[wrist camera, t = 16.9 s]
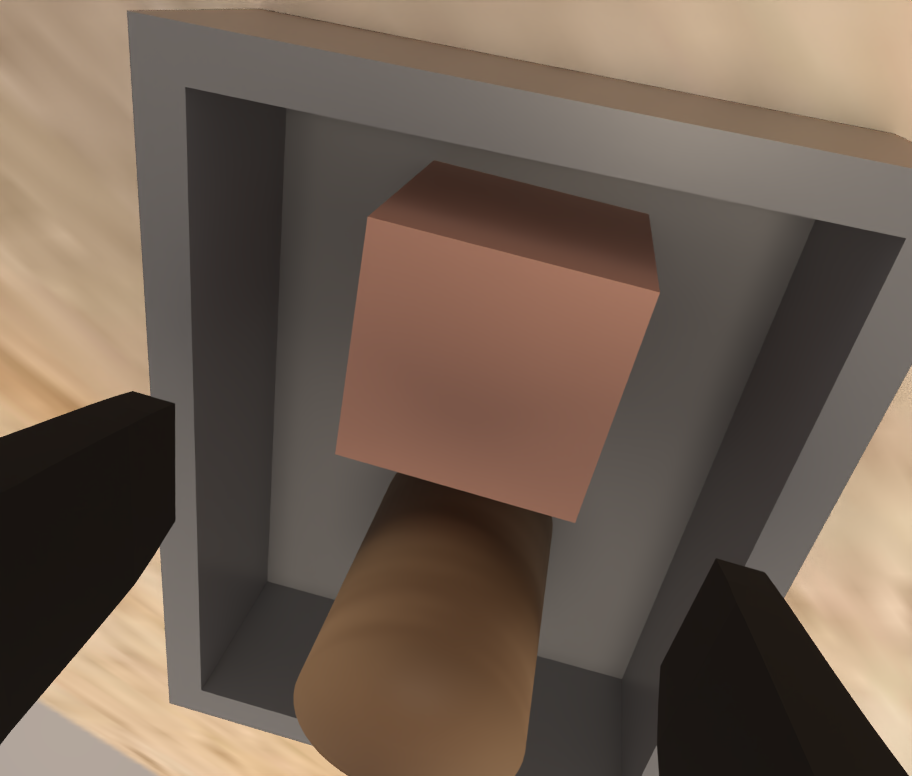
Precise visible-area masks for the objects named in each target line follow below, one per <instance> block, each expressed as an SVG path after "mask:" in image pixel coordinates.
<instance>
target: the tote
mask: <svg viewBox="0 0 912 776" xmlns="http://www.w3.org/2000/svg"><path fill="white" fill-rule="evenodd" d="M127 18H128V34H129V50H130V67H131V83H132V99H133V116H134V132H135V148H136V164H137V181H138V197H139V213H140V230H141V246H142V262H143V279H144V295H145V311H146V327H147V344H148V360H149V376H150V393H151V397H155V398H158V399H162V400H165V401H169V402H172V403H175V508H176V521H175V523H174V524H173V526H172V527H171V529H170V531H169V532H168V534H167V535H166V537H165V539H164V540H163V542H162V543H161V545H160V556H161V572H162V588H163V605H164V621H165V637H166V654H167V670H168V686H169V702H170V703H171V704H174V705H178V706H181V707H185V708H188V709H191V710H195V711H198V712H201V713H205V714H208V715H211V716H215V717H218V718H222V719H225V720H228V721H232V722H235V723H238V724H242V725H245V726H248V727H252V728H255V729H259V730H262V731H265V732H269V733H272V734H275V735H279V736H282V737H285V738H289V739H292V740H296V741H299V742H302V743H306V744H309V745H312V744H311V743H310V741H309V740H308V738H307V737H306V736H305V734H304V732H303V730H302V729H301V727H300V725H299V722H298V719H297V717H296V714H295V709H294V689H295V684H296V682H297V679H298V677H299V675H300V672H301V670H302V668H303V666H304V664H305V662H306V660H307V658H308V656H309V653H310V651H311V649H312V647H313V645H314V643H315V641H316V639H317V637H318V634H319V632H320V630H321V628H322V626H323V624H324V622H325V620H326V618H327V616H328V613H329V611H330V609H331V607H332V605H333V603H334V601H335V599H336V597H337V594H338V592H339V590H340V588H341V586H342V584H343V582H344V580H345V578H346V575H347V573H348V571H349V569H350V567H351V565H352V563H353V561H354V559H355V557H356V554H357V552H358V550H359V548H360V546H361V544H362V542H363V540H364V538H365V535H366V533H367V531H368V529H369V527H370V525H371V523H372V521H373V519H374V517H375V514H376V512H377V510H378V508H379V506H380V504H381V502H382V500H383V498H384V495H385V493H386V491H387V489H388V487H389V485H390V483H391V481H392V479H393V478H394V476H395V475H396V473H397V472H395V471H392V470H388V469H385V468H382V467H378V466H375V465H371V464H368V463H364V462H361V461H357V460H354V459H350V458H347V457H343V456H340V455H336V454H335V451H336V444H337V437H338V429H339V422H340V415H341V407H342V400H343V393H344V386H345V378H346V371H347V364H348V356H349V349H350V342H351V335H352V327H353V320H354V313H355V305H356V298H357V291H358V284H359V276H360V269H361V262H362V254H363V247H364V240H365V233H366V225H367V218H368V216H369V215H370V214H371V213H373V212H374V211H375V210H376V209H377V208H378V207H380V206H381V205H382V204H383V203H384V202H385V201H387V200H388V199H389V198H390V197H391V196H393V195H394V194H395V193H396V192H397V191H398V190H400V189H401V188H402V187H403V186H404V185H405V184H407V183H408V182H409V181H410V180H411V179H412V178H414V177H415V176H416V175H417V174H418V173H420V172H421V171H422V170H423V169H424V168H425V167H427V166H428V165H429V164H430V163H431V162H432V161H434V160H435V161H439V162H443V163H447V164H451V165H455V166H459V167H463V168H467V169H471V170H475V171H479V172H483V173H487V174H491V175H495V176H499V177H503V178H507V179H511V180H515V181H519V182H523V183H527V184H531V185H535V186H539V187H543V188H547V189H551V190H555V191H558V192H562V193H566V194H570V195H574V196H578V197H582V198H586V199H590V200H594V201H598V202H602V203H606V204H610V205H614V206H618V207H622V208H626V209H630V210H634V211H638V212H642V213H646V214H649V219H650V226H651V233H652V240H653V247H654V254H655V261H656V268H657V275H658V282H659V289H660V294H659V297H658V299H657V302H656V305H655V307H654V310H653V313H652V316H651V318H650V321H649V324H648V326H647V329H646V332H645V335H644V337H643V340H642V343H641V345H640V348H639V351H638V354H637V356H636V359H635V362H634V364H633V367H632V370H631V372H630V375H629V378H628V381H627V383H626V386H625V389H624V391H623V394H622V397H621V400H620V402H619V405H618V408H617V410H616V413H615V416H614V419H613V421H612V424H611V427H610V429H609V432H608V435H607V438H606V440H605V443H604V446H603V448H602V451H601V454H600V457H599V459H598V462H597V465H596V467H595V470H594V473H593V476H592V478H591V481H590V484H589V486H588V489H587V492H586V495H585V497H584V500H583V503H582V505H581V508H580V511H579V514H578V516H577V519H576V522H575V523H573V522H570V521H566V520H563V519H559V518H556V517H552V522H553V528H552V539H551V547H550V555H549V563H548V571H547V579H546V588H545V596H544V604H543V612H542V620H541V628H540V636H539V644H538V652H537V660H536V668H535V676H534V684H533V692H532V700H531V708H530V716H529V724H528V732H527V741H526V749H525V754H524V758H523V762H522V764H521V766H520V768H519V770H518V772H517V773H516V775H515V776H659V768H658V754H657V724H658V698H659V679H660V665H661V664H662V662H663V660H664V658H665V656H666V654H667V652H668V650H669V648H670V646H671V644H672V642H673V640H674V638H675V636H676V634H677V633H678V631H679V629H680V627H681V625H682V623H683V621H684V619H685V617H686V615H687V613H688V611H689V609H690V607H691V605H692V603H693V601H694V600H695V598H696V596H697V594H698V592H699V590H700V588H701V586H702V584H703V582H704V580H705V578H706V576H707V574H708V572H709V570H710V569H711V567H712V565H713V563H714V561H715V559H716V558H717V559H721V560H724V561H728V562H731V563H735V564H738V565H742V566H745V567H749V568H752V569H756V570H759V571H763V572H765V573H766V574H767V576H768V577H769V578H770V580H771V581H772V582H773V584H774V585H775V587H776V588H777V589H778V591H779V592H780V594H781V595H782V597H783V598H784V597H785V596H786V594H787V592H788V590H789V588H790V586H791V585H792V583H793V581H794V579H795V577H796V575H797V574H798V572H799V570H800V568H801V566H802V564H803V563H804V561H805V559H806V557H807V555H808V553H809V552H810V550H811V548H812V546H813V544H814V542H815V541H816V539H817V537H818V535H819V533H820V532H821V530H822V528H823V526H824V524H825V522H826V521H827V519H828V517H829V515H830V513H831V511H832V510H833V508H834V506H835V504H836V502H837V500H838V499H839V497H840V495H841V493H842V491H843V489H844V488H845V486H846V484H847V482H848V480H849V478H850V477H851V475H852V473H853V471H854V469H855V467H856V466H857V464H858V462H859V460H860V458H861V456H862V455H863V453H864V451H865V449H866V447H867V446H868V444H869V442H870V440H871V438H872V436H873V435H874V433H875V431H876V429H877V427H878V425H879V424H880V422H881V420H882V418H883V416H884V414H885V413H886V411H887V409H888V407H889V405H890V403H891V402H892V400H893V398H894V396H895V394H896V392H897V391H898V389H899V387H900V385H901V383H902V381H903V380H904V378H905V376H906V374H907V372H908V371H909V369H910V367H911V365H912V142H911V141H909V140H907V139H904V138H902V137H900V136H898V135H896V134H892V133H887V132H882V131H877V130H872V129H867V128H862V127H857V126H852V125H847V124H842V123H837V122H832V121H827V120H821V119H816V118H811V117H806V116H801V115H796V114H791V113H786V112H781V111H776V110H771V109H766V108H761V107H755V106H750V105H745V104H740V103H735V102H730V101H725V100H720V99H715V98H710V97H705V96H700V95H695V94H690V93H684V92H679V91H674V90H669V89H664V88H659V87H654V86H649V85H644V84H639V83H634V82H629V81H624V80H618V79H613V78H608V77H603V76H598V75H593V74H588V73H583V72H578V71H573V70H568V69H563V68H558V67H553V66H547V65H542V64H537V63H532V62H527V61H522V60H517V59H512V58H507V57H502V56H497V55H492V54H487V53H481V52H476V51H471V50H466V49H461V48H456V47H451V46H446V45H441V44H436V43H431V42H426V41H421V40H416V39H410V38H405V37H400V36H395V35H390V34H385V33H380V32H375V31H370V30H365V29H360V28H355V27H350V26H344V25H339V24H334V23H329V22H324V21H319V20H314V19H309V18H304V17H299V16H294V15H289V14H284V13H279V12H273V11H268V10H263V9H201V10H137V11H127ZM312 746H313V745H312Z"/></svg>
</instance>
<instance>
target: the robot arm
mask: <svg viewBox="0 0 912 776" xmlns="http://www.w3.org/2000/svg"><path fill="white" fill-rule="evenodd" d="M175 521H176V508H175V403H172V402H169V401H165V400H162V399H158V398H155V397H151V396H148V395H144V394H141V393H137V392H134V391H132V392H128V393H125V394H121V395H118V396H115V397H112V398H109V399H106V400H103V401H100V402H97V403H94V404H91V405H88V406H86V407H83V408H80V409H77V410H74V411H72V412H69V413H66V414H63V415H61V416H58V417H55V418H53V419H50V420H47V421H44V422H42V423H39V424H36V425H34V426H31V427H28V428H25V429H23V430H20V431H17V432H14V433H12V434H9V435H6V436H3V437H0V744H1V743H2V742H3V740H4V739H5V738H6V737H7V735H8V734H9V733H10V732H11V730H12V729H13V728H14V727H15V725H16V724H17V723H18V722H19V721H20V720H21V719H22V717H23V716H24V715H25V714H26V713H27V711H28V710H29V709H30V708H31V707H32V706H33V704H34V703H35V702H36V701H37V700H38V699H39V697H40V696H41V695H42V694H43V693H44V691H45V690H46V689H47V688H48V687H49V686H50V684H51V683H52V682H53V681H54V680H55V679H56V677H57V676H58V675H59V674H60V673H61V671H62V670H63V669H64V668H65V667H66V666H67V664H68V663H69V662H70V661H71V660H72V659H73V657H74V656H75V655H76V654H77V653H78V651H79V650H80V649H81V648H82V647H83V646H84V644H85V643H86V642H87V641H88V640H89V639H90V637H91V636H92V635H93V634H94V633H95V631H96V630H97V629H98V628H99V627H100V625H101V624H102V623H103V622H104V621H105V620H106V618H107V617H108V616H109V615H110V614H111V612H112V611H113V610H114V609H115V608H116V606H117V605H118V604H119V603H120V602H121V600H122V599H123V598H124V597H125V595H126V594H127V593H128V592H129V591H130V589H131V588H132V587H133V586H134V584H135V583H136V582H137V580H138V579H139V577H140V576H141V574H142V573H143V571H144V570H145V568H146V567H147V565H148V564H149V562H150V561H151V559H152V558H153V556H154V555H155V553H156V551H157V550H158V548H159V547H160V545H161V543H162V542H163V540H164V539H165V537H166V535H167V534H168V532H169V531H170V529H171V527H172V526H173V524H174V523H175ZM657 754H658V768H659V776H909V775H908V774H907V773H906V771H905V770H904V769H903V767H902V766H901V765H900V763H899V762H898V761H897V759H896V758H895V757H894V755H893V754H892V753H891V751H890V750H889V748H888V747H887V746H886V744H885V743H884V742H883V740H882V739H881V738H880V736H879V735H878V733H877V732H876V731H875V729H874V728H873V727H872V725H871V724H870V722H869V721H868V720H867V718H866V717H865V715H864V714H863V713H862V711H861V710H860V708H859V707H858V706H857V704H856V703H855V701H854V700H853V698H852V697H851V696H850V694H849V693H848V691H847V690H846V688H845V687H844V686H843V684H842V683H841V681H840V680H839V678H838V677H837V676H836V674H835V673H834V671H833V670H832V668H831V667H830V665H829V664H828V662H827V661H826V660H825V658H824V657H823V655H822V654H821V652H820V651H819V649H818V648H817V646H816V645H815V643H814V642H813V640H812V639H811V638H810V636H809V635H808V633H807V632H806V630H805V629H804V627H803V626H802V624H801V623H800V621H799V620H798V618H797V617H796V615H795V614H794V613H793V611H792V610H791V608H790V607H789V605H788V604H787V602H786V601H785V599H784V598H783V597H782V595H781V594H780V592H779V591H778V589H777V588H776V587H775V585H774V584H773V582H772V581H771V580H770V578H769V577H768V576H767V574H766V573H765V572H763V571H759V570H756V569H752V568H749V567H745V566H742V565H738V564H735V563H731V562H728V561H724V560H721V559H717V558H716V559H715V561H714V563H713V565H712V567H711V569H710V570H709V572H708V574H707V576H706V578H705V580H704V582H703V584H702V586H701V588H700V590H699V592H698V594H697V596H696V598H695V600H694V601H693V603H692V605H691V607H690V609H689V611H688V613H687V615H686V617H685V619H684V621H683V623H682V625H681V627H680V629H679V631H678V633H677V634H676V636H675V638H674V640H673V642H672V644H671V646H670V648H669V650H668V652H667V654H666V656H665V658H664V660H663V662H662V664H661V665H660V679H659V698H658V724H657Z"/></svg>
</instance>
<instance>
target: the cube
mask: <svg viewBox="0 0 912 776" xmlns="http://www.w3.org/2000/svg"><path fill="white" fill-rule="evenodd" d="M659 294H660V289H659V282H658V275H657V268H656V261H655V254H654V247H653V240H652V233H651V226H650V219H649V214H646V213H642V212H638V211H634V210H630V209H626V208H622V207H618V206H614V205H610V204H606V203H602V202H598V201H594V200H590V199H586V198H582V197H578V196H574V195H570V194H566V193H562V192H558V191H555V190H551V189H547V188H543V187H539V186H535V185H531V184H527V183H523V182H519V181H515V180H511V179H507V178H503V177H499V176H495V175H491V174H487V173H483V172H479V171H475V170H471V169H467V168H463V167H459V166H455V165H451V164H447V163H443V162H439V161H435V160H434V161H432V162H431V163H430V164H429V165H428V166H427V167H425V168H424V169H423V170H422V171H421V172H420V173H418V174H417V175H416V176H415V177H414V178H412V179H411V180H410V181H409V182H408V183H407V184H405V185H404V186H403V187H402V188H401V189H400V190H398V191H397V192H396V193H395V194H394V195H393V196H391V197H390V198H389V199H388V200H387V201H385V202H384V203H383V204H382V205H381V206H380V207H378V208H377V209H376V210H375V211H374V212H373V213H371V214H370V215H369V216H368V218H367V225H366V233H365V240H364V247H363V254H362V262H361V269H360V276H359V284H358V291H357V298H356V305H355V313H354V320H353V327H352V335H351V342H350V349H349V356H348V364H347V371H346V378H345V386H344V393H343V400H342V407H341V415H340V422H339V429H338V437H337V444H336V451H335V454H336V455H340V456H343V457H347V458H350V459H354V460H357V461H361V462H364V463H368V464H371V465H375V466H378V467H382V468H385V469H388V470H392V471H395V472H399V473H402V474H406V475H409V476H413V477H416V478H420V479H423V480H427V481H430V482H434V483H437V484H441V485H444V486H448V487H451V488H455V489H458V490H462V491H465V492H469V493H472V494H476V495H479V496H483V497H486V498H490V499H493V500H496V501H500V502H503V503H507V504H510V505H514V506H517V507H521V508H524V509H528V510H531V511H535V512H538V513H542V514H545V515H549V516H552V517H556V518H559V519H563V520H566V521H570V522H573V523H575V522H576V519H577V516H578V514H579V511H580V508H581V505H582V503H583V500H584V497H585V495H586V492H587V489H588V486H589V484H590V481H591V478H592V476H593V473H594V470H595V467H596V465H597V462H598V459H599V457H600V454H601V451H602V448H603V446H604V443H605V440H606V438H607V435H608V432H609V429H610V427H611V424H612V421H613V419H614V416H615V413H616V410H617V408H618V405H619V402H620V400H621V397H622V394H623V391H624V389H625V386H626V383H627V381H628V378H629V375H630V372H631V370H632V367H633V364H634V362H635V359H636V356H637V354H638V351H639V348H640V345H641V343H642V340H643V337H644V335H645V332H646V329H647V326H648V324H649V321H650V318H651V316H652V313H653V310H654V307H655V305H656V302H657V299H658V297H659Z"/></svg>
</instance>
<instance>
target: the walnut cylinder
mask: <svg viewBox="0 0 912 776" xmlns="http://www.w3.org/2000/svg"><path fill="white" fill-rule="evenodd" d="M552 528H553V522H552V516H549V515H545V514H542V513H538V512H535V511H531V510H528V509H524V508H521V507H517V506H514V505H510V504H507V503H503V502H500V501H496V500H493V499H490V498H486V497H483V496H479V495H476V494H472V493H469V492H465V491H462V490H458V489H455V488H451V487H448V486H444V485H441V484H437V483H434V482H430V481H427V480H423V479H420V478H416V477H413V476H409V475H406V474H402V473H399V472H397V473H396V475H395V476H394V478H393V479H392V481H391V483H390V485H389V487H388V489H387V491H386V493H385V495H384V498H383V500H382V502H381V504H380V506H379V508H378V510H377V512H376V514H375V517H374V519H373V521H372V523H371V525H370V527H369V529H368V531H367V533H366V535H365V538H364V540H363V542H362V544H361V546H360V548H359V550H358V552H357V554H356V557H355V559H354V561H353V563H352V565H351V567H350V569H349V571H348V573H347V575H346V578H345V580H344V582H343V584H342V586H341V588H340V590H339V592H338V594H337V597H336V599H335V601H334V603H333V605H332V607H331V609H330V611H329V613H328V616H327V618H326V620H325V622H324V624H323V626H322V628H321V630H320V632H319V634H318V637H317V639H316V641H315V643H314V645H313V647H312V649H311V651H310V653H309V656H308V658H307V660H306V662H305V664H304V666H303V668H302V670H301V672H300V675H299V677H298V679H297V682H296V684H295V689H294V709H295V714H296V717H297V719H298V722H299V725H300V727H301V729H302V730H303V732H304V734H305V736H306V737H307V738H308V740H309V741H310V743H311V744H312V745H313V746H314V747H315V749H316V750H317V751H318V752H319V753H320V754H321V755H322V756H323V757H324V758H325V759H326V760H327V761H329V762H330V763H331V764H332V765H334V766H335V767H336V768H337V769H339V770H340V771H342V772H343V773H345V774H346V775H348V776H515V775H516V773H517V772H518V770H519V768H520V766H521V764H522V762H523V758H524V754H525V749H526V741H527V732H528V724H529V716H530V708H531V700H532V692H533V684H534V676H535V668H536V660H537V652H538V644H539V636H540V628H541V620H542V612H543V604H544V596H545V588H546V579H547V571H548V563H549V555H550V547H551V539H552Z"/></svg>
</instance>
